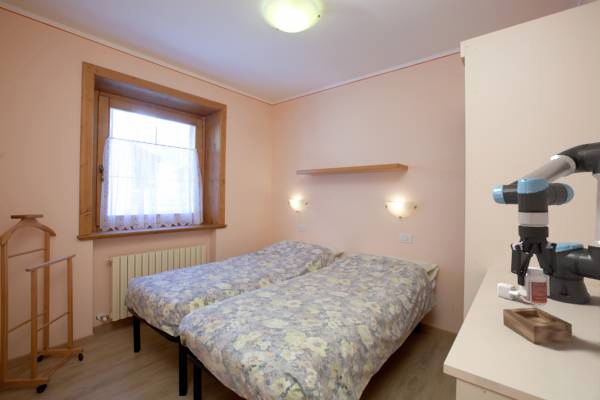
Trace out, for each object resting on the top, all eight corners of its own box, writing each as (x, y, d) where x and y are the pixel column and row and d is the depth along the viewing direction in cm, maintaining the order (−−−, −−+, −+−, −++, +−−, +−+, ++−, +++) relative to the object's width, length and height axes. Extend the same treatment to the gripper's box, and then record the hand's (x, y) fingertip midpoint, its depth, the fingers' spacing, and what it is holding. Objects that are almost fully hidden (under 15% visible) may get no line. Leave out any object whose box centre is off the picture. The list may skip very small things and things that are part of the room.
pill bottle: (549, 302, 87) (549, 268, 87) (543, 307, 84) (543, 272, 83) (525, 296, 92) (525, 264, 92) (519, 301, 89) (518, 268, 88)
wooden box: (536, 322, 94) (536, 307, 94) (572, 341, 82) (571, 324, 82) (503, 324, 94) (503, 309, 94) (534, 344, 82) (533, 326, 82)
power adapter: (532, 303, 109) (532, 289, 109) (525, 305, 107) (525, 291, 107) (502, 294, 120) (502, 281, 119) (496, 296, 118) (495, 283, 117)
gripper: (550, 222, 91) (551, 289, 92) (495, 224, 91) (497, 291, 91) (573, 225, 84) (574, 297, 84) (513, 227, 83) (515, 300, 84)
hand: (534, 294), depth 88 cm, fingers closed on pill bottle, 6 cm apart
